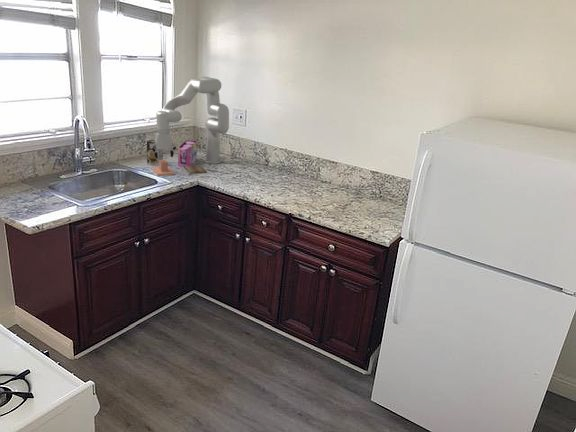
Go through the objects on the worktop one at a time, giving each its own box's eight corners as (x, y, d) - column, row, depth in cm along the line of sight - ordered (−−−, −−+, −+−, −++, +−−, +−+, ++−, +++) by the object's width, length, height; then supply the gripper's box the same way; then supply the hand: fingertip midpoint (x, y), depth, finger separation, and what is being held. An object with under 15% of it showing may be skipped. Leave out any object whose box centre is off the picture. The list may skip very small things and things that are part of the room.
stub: (168, 168, 310) (168, 158, 308) (174, 174, 299) (174, 163, 297) (152, 169, 305) (152, 158, 303) (157, 175, 294) (157, 164, 291)
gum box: (188, 168, 316) (188, 148, 311) (177, 167, 316) (177, 147, 311) (196, 159, 338) (197, 141, 333) (186, 158, 338) (186, 140, 333)
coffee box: (146, 164, 315) (146, 141, 309) (151, 162, 321) (151, 139, 315) (158, 166, 313) (158, 143, 307) (163, 164, 319) (163, 141, 313)
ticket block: (199, 167, 321) (199, 164, 320) (206, 173, 309) (206, 170, 309) (183, 167, 315) (184, 165, 315) (190, 174, 304) (190, 171, 304)
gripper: (175, 129, 299) (175, 154, 306) (147, 130, 291) (149, 156, 298) (178, 131, 293) (179, 158, 300) (150, 133, 285) (152, 160, 292)
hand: (164, 157), depth 299 cm, fingers open, 9 cm apart
